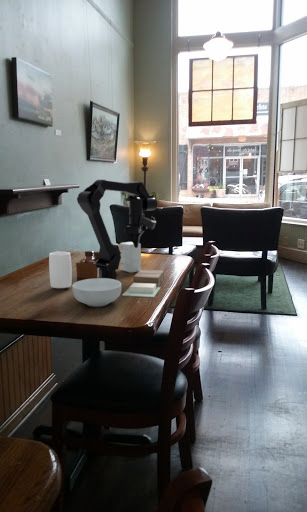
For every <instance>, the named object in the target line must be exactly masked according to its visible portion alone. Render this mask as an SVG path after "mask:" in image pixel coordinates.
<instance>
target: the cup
mask: <svg viewBox="0 0 307 512" xmlns="http://www.w3.org/2000/svg"><path fill="white" fill-rule="evenodd" d="M48 257H49V258H48V268H49V270H48V271H49V272H48V273H49V282H50V287H51V288H53V289H65V288H69V287H72V280H73V279H72V278H73V277H72V276H73V275H72V274H73V273H72V271H73V270H72V257H71V252H69V251H62V250H61V251H60V250H59V251H52V252H49V254H48Z"/></svg>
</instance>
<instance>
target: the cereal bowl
mask: <svg viewBox="0 0 307 512" xmlns="http://www.w3.org/2000/svg"><path fill="white" fill-rule="evenodd" d="M71 287H72V288H71V290H72V294H73V297H74V298H75V299H76V300H77V301H78V302H80V303H83V304H84V305H85V304H86V305H87V306H88V307H93V308H94V307H104V306H105V307H106V306H107V305H109V304H110V303H113V302H115V301H116V300H117V299H118V298H119V297H120V296H121V294H122V282H121V281H120V280H118V279H117V280H114V279H108V278H99V277H96V278H86V279H82V280H78V281H76V282H73V284H71Z"/></svg>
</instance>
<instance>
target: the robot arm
mask: <svg viewBox="0 0 307 512" xmlns="http://www.w3.org/2000/svg"><path fill="white" fill-rule="evenodd" d="M106 191H114V192H120V193H121V192H122V193H124V194H126V195H128V196H127V197H126V198H125V200H124V201H125V202H128V203H129V204H128V206H129V209H128V210H129V213H128V214H127V215H128V217H129V218H128V219H129V223H128V225H127V226H125V227H124V228H123V233H124V234H127V235H128V236H129V238H130V239H131V242H133V244H134V246H135V248H138V245H139V243H140V239H141V236H142V235H143V234H144V232H145V230H147V229H150V230H154V229H155V227H156V224H157V221H156V218H155V217H153V216H151V217H150V218H149V217H145V213H144V212H146V211H155V210H156V209H157V208H158V201H157V199H156V198H155V195H154V194H149V192H148V190H147V188H146V187H145V184H144V182H142V181H127V182H121V181H114V180H106V179H97V180H95V181H94V182H93V183H92V184H91V185H89V186H88V187H86V188H85V189H84V190H83V191H80V192H79V193H78V195H77V197H76V201H77V203H78V205H79V207H80V208H81V210H82V211H83V212H84V213H85V214H86V215H87V217H88V219H89V221H90V222H89V223H90V224H91V227H92V229H93V232H94V235H95V237H96V239H97V243H98V245H99V251H98V253H99V254H98V255H99V258H98V259H97V260H96V261H95V263H94V264H95V268H96V269H98V278H108V279H114V280H118V272H117V271H116V270H118V269H119V267H120V264H121V252H120V246H119V245H117V244H113V243H112V240H111V238H110V235H109V233H108V230H107V228H106V226H105V225H106V224H105V222H104V219H103V216H102V215H101V212H100V211H101V199H102V198H103V197H104V195H105V192H106ZM142 229H144V230H142Z"/></svg>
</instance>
